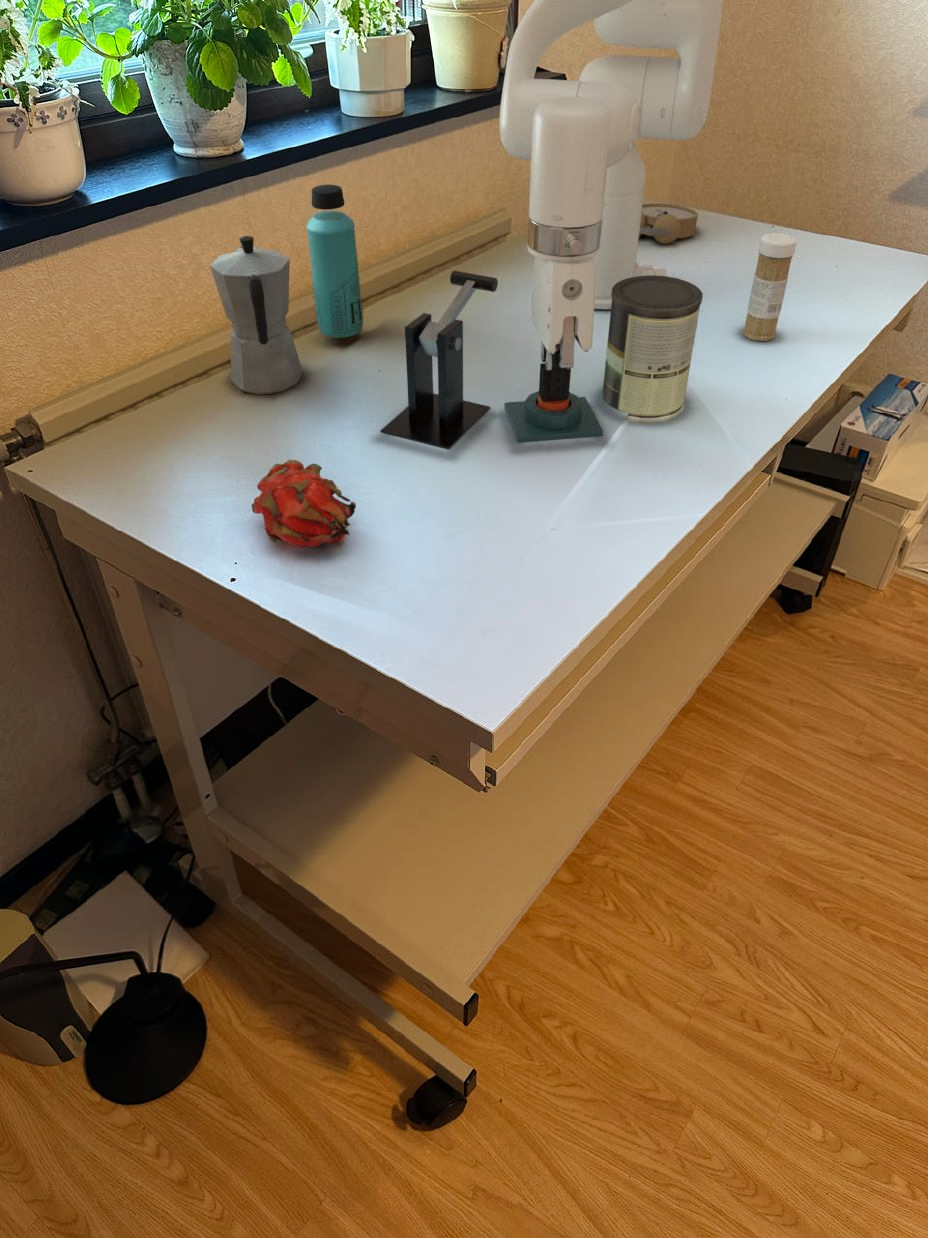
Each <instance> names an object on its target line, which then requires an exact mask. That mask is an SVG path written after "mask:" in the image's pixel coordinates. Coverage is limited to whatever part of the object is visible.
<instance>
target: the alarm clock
mask: <svg viewBox="0 0 928 1238" xmlns="http://www.w3.org/2000/svg"><path fill="white" fill-rule="evenodd" d="M698 217H699V213H698V212H697V211H696V210H695V209H692V208H690V207H688V206H687V207H686V206H683V205H682V206H681V205H677V204H671V203H662V202H661V203H660V202H659V203H657V202H656V203H655V202H654V203H653V202H652V203H651V202H650V203H649V202H648V203H643V205H642V214H641V222H640V231H639V238H640V237H641V236H642V235H645V236H649V237H653V238H654V239H655V240H656V242H658V243H660V244H663V245H668V244H671V243H673V242H674V241H675V240H677V239H681V238H682V239H683V238H689V237H692V236H694V235H695V234H696V227H697V223H698V222H697V221H698Z"/></svg>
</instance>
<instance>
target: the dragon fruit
mask: <svg viewBox="0 0 928 1238" xmlns="http://www.w3.org/2000/svg"><path fill="white" fill-rule="evenodd" d="M322 469H323V467H322V466H321V465H320V464H317V463H311V464H309V465H306V467H304V464H303V463H302V462H301V461H300V460H296V459H288V460H286V461H285V462H284V463H275V464H273V465H272V467H271V468H270V470H269V472H268V473H267V474H266V475H264V476H263V477H262V478H261V479H260V480H259V482H258V483H257V485H256V488H257V490H258V491H260V494H259V495H258V496H257V497H255V498H254V499H253V503H252V504H251V509H252V512H253V513H254V514H261V515H262V517H263V520H264V530H265V533H266V535H267V536H268V538H269V540H270V541H272V542H281V540H282V541H283V542H286V543H288V544H290V545H292V546H293V547H296V546H299V547H313V548H315V547H319V546H321V545H322V544H324V543H326V544H337V545H342V544H343V542H344V541H345V538H346V537H347V536H350V532H349V530H348V529H347V528H348V527H349V526H351V525H352V523H349V521H348V519H350V518H351V517H353V515H354V514H355V512H356V511H355V509H356V508H357V503H356V502H355V501H351V499H349V498H347V497H346V496H343V495H342V494H343V493H342V490H341V489H339V488H338V487H337V485H336V484H335V482H334V480H332V479H328V478H324V477H323V478H322V477H321V470H322ZM333 495H336V496H337V497H338V498H340V499H341V500H343V501H345V502H350V504H348V503H345V502H343V501H340V499H338V498H336V497H335V496H333Z"/></svg>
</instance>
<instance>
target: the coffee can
mask: <svg viewBox="0 0 928 1238" xmlns="http://www.w3.org/2000/svg"><path fill="white" fill-rule="evenodd" d="M611 297H612V303H611V309H610V313H609V314H610V315H609V324H608V336H607V343H606V344H607V347H606V354H605V355H606V356H605V364H604V365H605V366H604V375H603V384H602V385H603V386H602V398H603V400H604V402H605V403H606V404H607V405H609V406H610V407H612V408H613V409H615V410H617V411H620V412H622V413H626V414H627V415H626V417H625V418H624V420H626V421H628V422H629V421H630V422H636V423H660V422H665V421H669V420H672V419H674V418H676V417H678V416H679V415H680V414H681V413H682V412H683V411H684V409H685V401H686V400H685V399H686V393H687V387H688V382H689V376H690V369H691V364H692V363H691V362H692V355H693V351H694V345H695V338H696V333H697V328H698V320H699V314H700V307H701V305H702V302H703V297H704V295H703V292H702V290H701V289H700V288H699V287H698V286H697V285H695V284H693V283H692V282H689V281H687V280H685V279H682V278H677V277H673V276H667V275H666V276H655V275H649V276H637V277H631V278H627V279H624V280H622V281H619V282H618V283H616V284H615V285H614V286H613V288H612V293H611Z"/></svg>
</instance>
